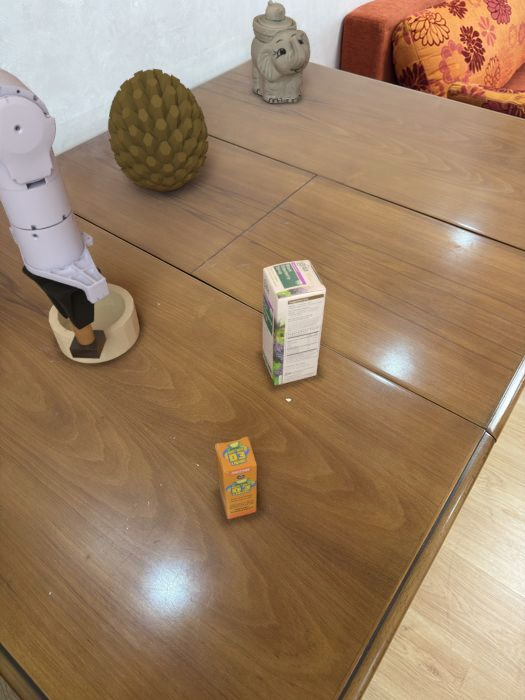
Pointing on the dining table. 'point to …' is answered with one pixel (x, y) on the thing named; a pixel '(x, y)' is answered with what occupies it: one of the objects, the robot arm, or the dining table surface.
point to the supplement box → (237, 477)
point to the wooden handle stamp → (87, 342)
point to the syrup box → (292, 320)
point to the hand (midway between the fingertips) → (78, 318)
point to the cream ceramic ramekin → (103, 325)
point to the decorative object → (157, 131)
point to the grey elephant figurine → (278, 55)
